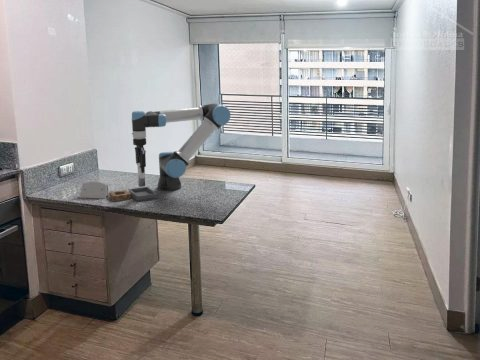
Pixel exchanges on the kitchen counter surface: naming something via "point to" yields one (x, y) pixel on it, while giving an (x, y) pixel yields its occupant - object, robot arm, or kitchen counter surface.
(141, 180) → the pin
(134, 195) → the tray
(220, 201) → the kitchen counter surface
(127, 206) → the kitchen counter surface
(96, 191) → the grey upright slab
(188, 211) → the kitchen counter surface
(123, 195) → the holder
